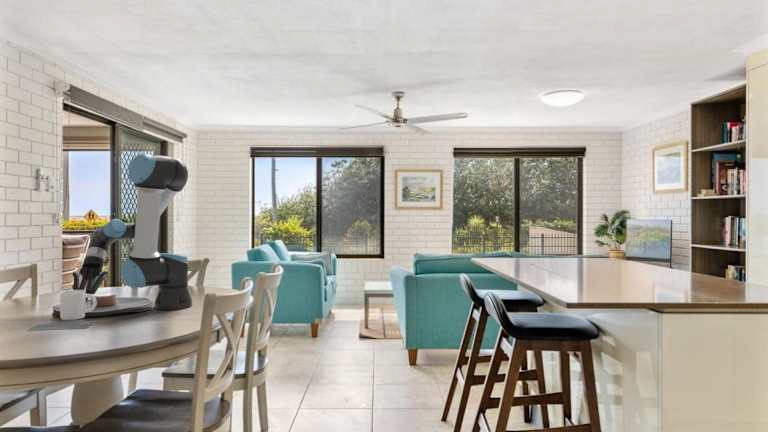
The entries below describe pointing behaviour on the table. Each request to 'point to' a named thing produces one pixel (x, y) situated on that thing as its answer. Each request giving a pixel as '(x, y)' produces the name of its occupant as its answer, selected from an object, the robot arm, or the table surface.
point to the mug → (75, 304)
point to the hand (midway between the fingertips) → (78, 308)
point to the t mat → (63, 325)
